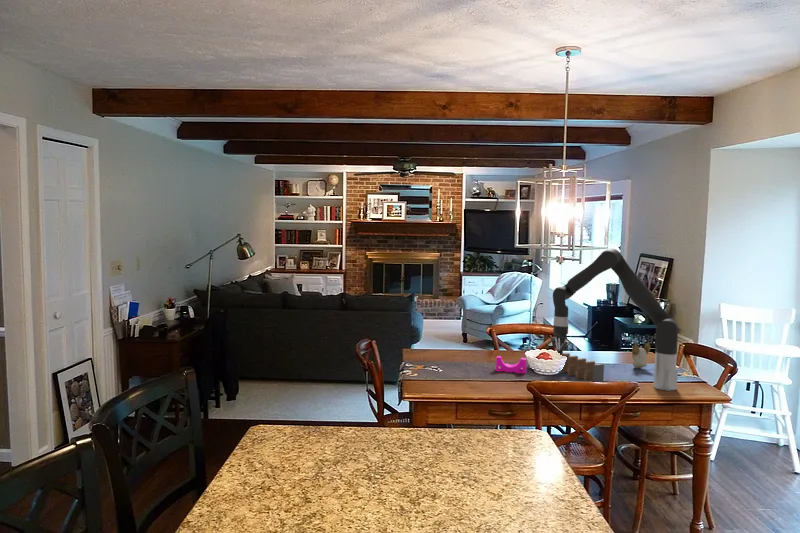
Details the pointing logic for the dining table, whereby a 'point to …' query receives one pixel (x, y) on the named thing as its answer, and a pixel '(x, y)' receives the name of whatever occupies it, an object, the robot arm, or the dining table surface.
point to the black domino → (598, 372)
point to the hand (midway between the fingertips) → (559, 357)
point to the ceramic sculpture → (640, 355)
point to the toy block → (511, 366)
